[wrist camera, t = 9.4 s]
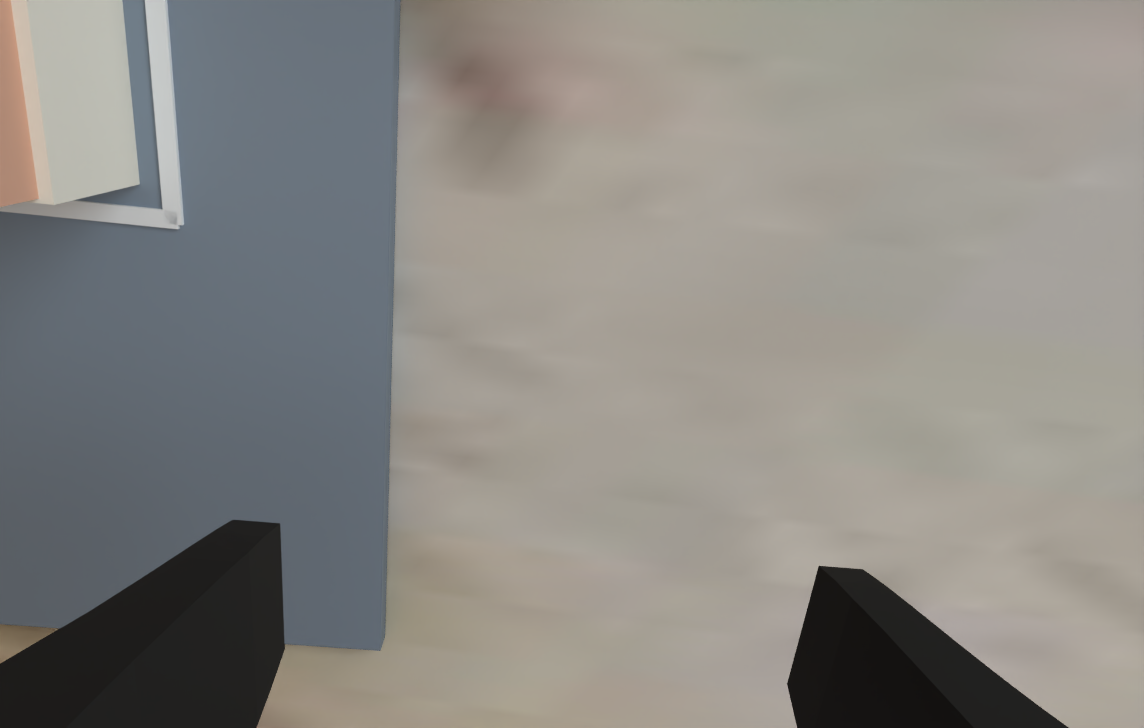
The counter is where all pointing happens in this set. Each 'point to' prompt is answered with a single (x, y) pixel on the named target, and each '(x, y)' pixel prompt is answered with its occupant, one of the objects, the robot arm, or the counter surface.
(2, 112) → the terracotta block
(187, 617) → the robot arm
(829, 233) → the counter surface
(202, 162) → the board
